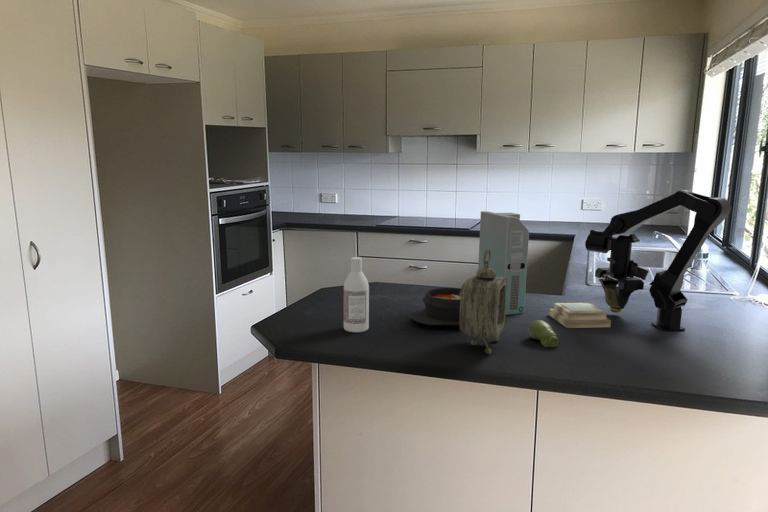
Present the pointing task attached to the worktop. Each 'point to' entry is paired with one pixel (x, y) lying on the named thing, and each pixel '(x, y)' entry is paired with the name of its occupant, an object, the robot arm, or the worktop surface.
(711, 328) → the worktop surface
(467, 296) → the tabletop clock
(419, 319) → the casserole
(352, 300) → the bath foam
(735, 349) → the worktop surface
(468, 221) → the worktop surface
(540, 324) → the pear
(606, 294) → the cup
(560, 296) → the worktop surface
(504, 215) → the light blue cardboard box
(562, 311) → the oak plinth
